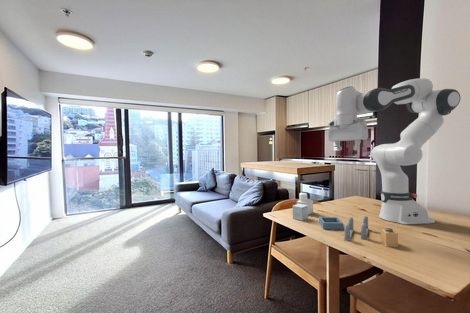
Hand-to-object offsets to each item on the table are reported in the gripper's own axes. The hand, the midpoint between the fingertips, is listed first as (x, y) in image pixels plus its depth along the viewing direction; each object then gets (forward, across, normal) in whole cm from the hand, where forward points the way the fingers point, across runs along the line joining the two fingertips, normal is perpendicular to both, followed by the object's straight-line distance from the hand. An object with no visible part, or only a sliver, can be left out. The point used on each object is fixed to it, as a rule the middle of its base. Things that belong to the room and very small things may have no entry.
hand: (347, 150), depth 105 cm
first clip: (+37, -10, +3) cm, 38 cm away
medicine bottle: (+37, +27, +5) cm, 46 cm away
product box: (+37, +20, +14) cm, 44 cm away
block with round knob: (+37, -22, +4) cm, 43 cm away
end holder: (+37, +3, +8) cm, 38 cm away
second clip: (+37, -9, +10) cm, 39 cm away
